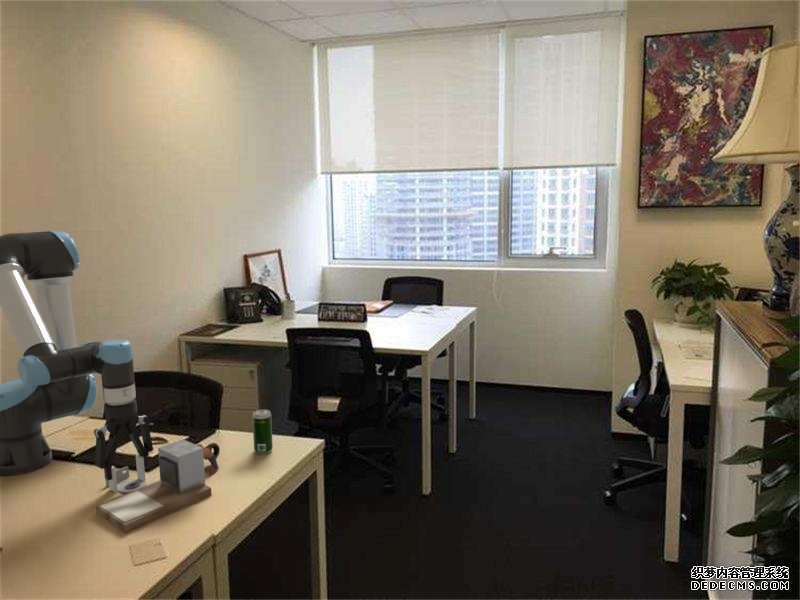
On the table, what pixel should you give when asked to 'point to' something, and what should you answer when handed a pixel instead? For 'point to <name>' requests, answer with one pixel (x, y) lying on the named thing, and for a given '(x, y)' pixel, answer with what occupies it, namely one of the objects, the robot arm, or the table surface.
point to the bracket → (128, 485)
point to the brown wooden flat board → (147, 505)
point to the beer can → (262, 431)
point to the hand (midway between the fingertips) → (127, 484)
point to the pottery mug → (211, 456)
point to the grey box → (181, 466)
